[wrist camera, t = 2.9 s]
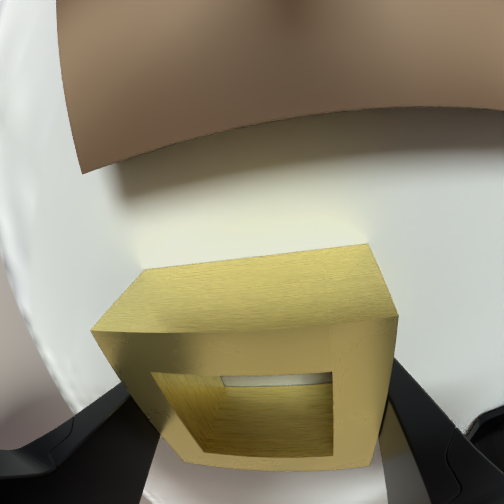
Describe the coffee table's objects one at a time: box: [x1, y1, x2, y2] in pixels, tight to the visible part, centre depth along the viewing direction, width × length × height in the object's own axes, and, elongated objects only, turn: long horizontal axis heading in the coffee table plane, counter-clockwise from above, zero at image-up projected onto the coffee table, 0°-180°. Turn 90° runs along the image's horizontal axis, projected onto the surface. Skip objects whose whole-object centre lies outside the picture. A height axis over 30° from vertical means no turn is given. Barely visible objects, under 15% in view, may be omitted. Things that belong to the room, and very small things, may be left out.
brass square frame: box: [90, 244, 398, 471], centre depth 8 cm, size 6×6×3 cm
